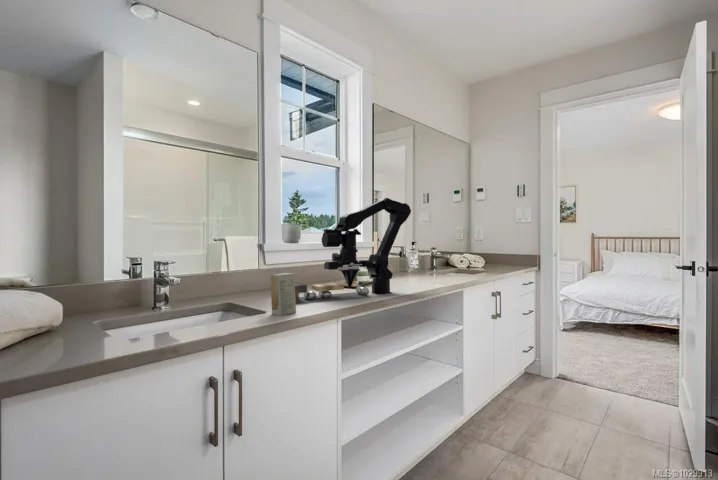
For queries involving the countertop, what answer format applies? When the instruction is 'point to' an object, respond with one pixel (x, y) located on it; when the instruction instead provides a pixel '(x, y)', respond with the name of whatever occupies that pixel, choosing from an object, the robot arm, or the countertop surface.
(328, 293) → the cylinder
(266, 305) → the countertop surface
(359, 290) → the cylinder
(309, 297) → the loose steel roller
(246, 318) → the countertop surface
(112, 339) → the countertop surface
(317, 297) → the rubber mat
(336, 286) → the oak slab
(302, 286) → the walnut stop
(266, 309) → the countertop surface
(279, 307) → the skincare box
